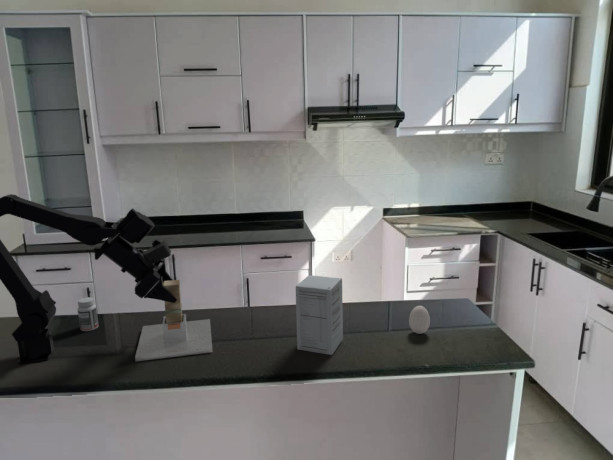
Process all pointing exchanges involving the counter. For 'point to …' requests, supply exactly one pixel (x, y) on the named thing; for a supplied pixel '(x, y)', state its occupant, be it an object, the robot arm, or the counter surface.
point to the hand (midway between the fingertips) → (176, 294)
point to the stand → (174, 339)
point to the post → (173, 309)
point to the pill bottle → (87, 314)
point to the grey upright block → (319, 314)
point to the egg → (419, 320)
